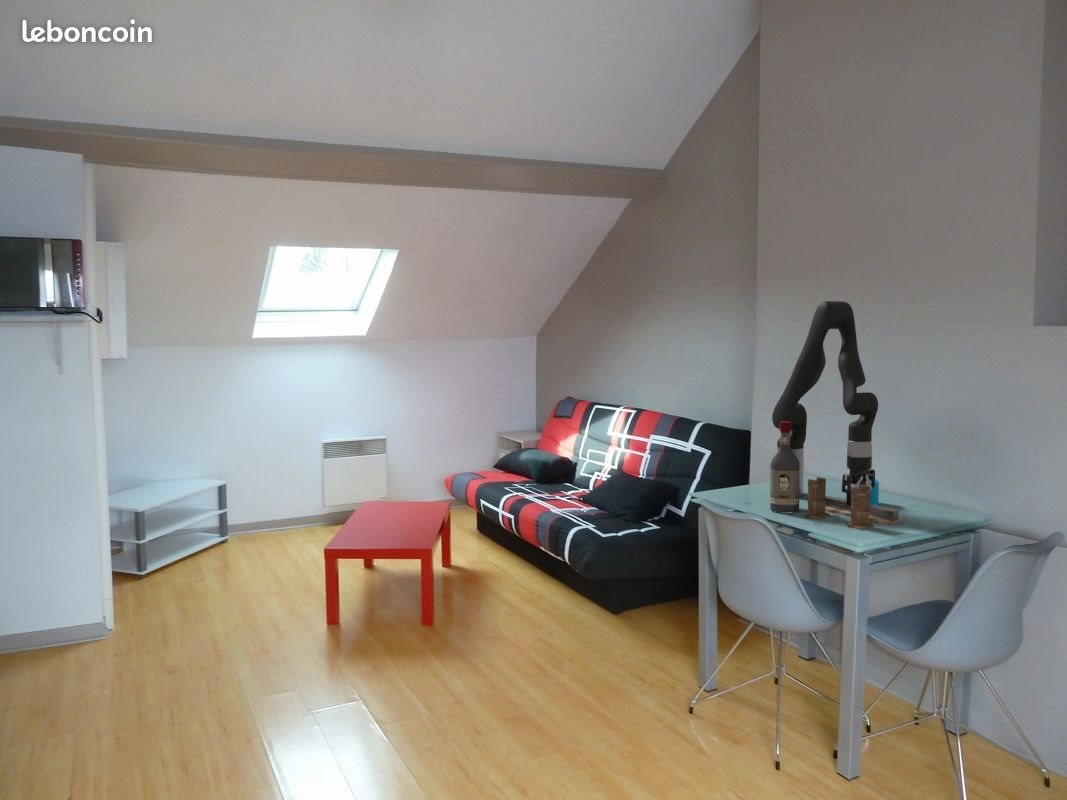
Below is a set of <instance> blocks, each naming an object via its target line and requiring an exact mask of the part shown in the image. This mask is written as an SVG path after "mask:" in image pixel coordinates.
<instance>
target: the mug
mask: <svg viewBox="0 0 1067 800" xmlns="http://www.w3.org/2000/svg"><path fill="white" fill-rule="evenodd" d="M870 482H871V483H872V480H870ZM851 484H852V483H851ZM858 488H860V486H858ZM879 491H880V480H879V479H876V478H875V487H872V489H871V490H870V504H871V505H877V506H879V505H878V504H879V502H880V501H879V496H880V494H879Z"/></svg>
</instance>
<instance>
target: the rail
mask: <svg viewBox="0 0 1067 800" xmlns="http://www.w3.org/2000/svg"><path fill="white" fill-rule="evenodd" d="M825 507H830V508H835V509H839V510H844V511H849V512H851V506H850V505H847V502H846V498H841V497H837V496H830V495H826V504H825ZM869 516H872V517H876V518H881V519H886V520H890V521H895V520H899V518H900V517H899V516H900V510H899V509H896V508H890V507H886V506H881V505H877V506H876V505H871V504H869Z"/></svg>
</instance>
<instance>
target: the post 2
mask: <svg viewBox="0 0 1067 800" xmlns="http://www.w3.org/2000/svg"><path fill="white" fill-rule="evenodd" d="M869 504H870V487H869V486H864V485H860V488H855V487H851V517H850V522H848V523H845V527H846V526H848V527H847V528H850V527H852V528H851V529H854V528H856V530H858V529H860V530H861V529H862V530H865V529H868V527H869V528H871V527H874V526H875V522H871V521H869ZM864 528H865V529H864ZM862 530H861V531H862Z"/></svg>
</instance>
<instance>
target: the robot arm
mask: <svg viewBox="0 0 1067 800" xmlns="http://www.w3.org/2000/svg"><path fill="white" fill-rule="evenodd" d="M829 330H838V332H839V334H840V339H841V347H840V350H839V355H838V359H837V365H838V370H839V375H840V379H841V381H842V405H843V409H844V411H845V412H846V413H847V414H848V415H850V416H859V417H858V419H857V420H854V421H852V422H850V423H849V425H848V430H847V431H848V435H847V439H848V440H847V446H846V447H847V449H846V468H848V470H849V472H848V474H847V473H843V474H842V480H841V492H842V493H845V494H846V498H845V499H846V502H847V505H850V506H851V487H855V488H858V486H860V485H864V486H869V487H870V490H871V489H872V487H875V479H876V470H875V469H873V468H872V467H873V445H872V444H873V443H872V440H873V439H872V437H873V436H872V435H873V426H874V423H875V420H876V416H877V414H878V410H879V409H878V408H879V401H878V398H877V396H876V394H875V393H873V392H870V391H867V392H865V391H864V392H857V391H858V390H857V389H858V388H860V387H862V386H863V385H864V384H866V376H865V371H864V368H863V366H862V362H861V358H860V355H859V350H858V349H859V348H858V340H857V339H858V338H857V329H856V322H855V314H854V310H853V308H852V306H851V304H850V303H849V302H848V301H842V300H841V301H839V300H838V301H837V300H825V301H822V302H820V303H819V304H818V305H817V307H816V309H815V311H814V313H813V317H812V320H811V324H810V326H809V331H808V333H807V336H806V339H805V342H804V343H803V344H804V345H803V347H802V350H801V352H800V354H799V356H798V358H797V359H796V360H797V361H796V363H795V365H794V366H793V370H792V371H791V372H792V373H791V375H790V377H789V379H788V381H787V384H786V387H785V388H784V390H783V392H782V394H781V395H780V396H779V397H780V398H779V399H778V401H777V402H776V405H775V406H774V408H773V411H772V415H771V418H772V419H771V420H772V424H773V426H774V427H775V428H776V429H778V430H780V422H782V421H789V422H791V431H790V447H791V451H792V452H793V453H794V454H795V456H796V457H797V458H798V459H799V462H800V481H799V497H801V496H803V495H804V472H805V471H804V467H805V466H804V461H805V460H804V454H805V453H804V450H805V448H804V447H805V446H804V445H805V442H806V438H807V426H808V414H807V411H806V408H805V406H804V405H803V404H802V403H799V402H800V400H801V399H802V398H803V397H804V396H805V395H806V394H807V393H808V392H809V391H810V390H811V389H813V387H815V385H816V384H817V383H818V382H819V380H820V378H821V377H822V374H823V371H824V370H825V367H826V363H827V362H826V361H827V360H826V359H827V358H826V354H825V350H824V342H825V339H826V336H827V334H828V332H829ZM780 439H781V437H780V438H778V439H777V441H776V454H777V453H778V451H779V450H780ZM870 480H872V483H871V482H870ZM851 483H852V484H851Z"/></svg>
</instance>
